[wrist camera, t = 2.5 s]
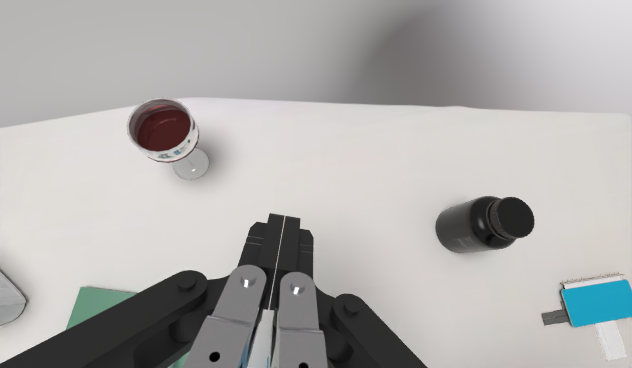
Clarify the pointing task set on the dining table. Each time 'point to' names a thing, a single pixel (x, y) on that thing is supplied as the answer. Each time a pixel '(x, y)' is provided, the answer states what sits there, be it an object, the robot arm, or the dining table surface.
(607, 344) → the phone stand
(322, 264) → the dining table surface
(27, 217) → the dining table surface
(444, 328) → the dining table surface
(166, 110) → the wineglass
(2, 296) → the photo printer
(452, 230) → the supplement bottle
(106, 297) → the processor board
